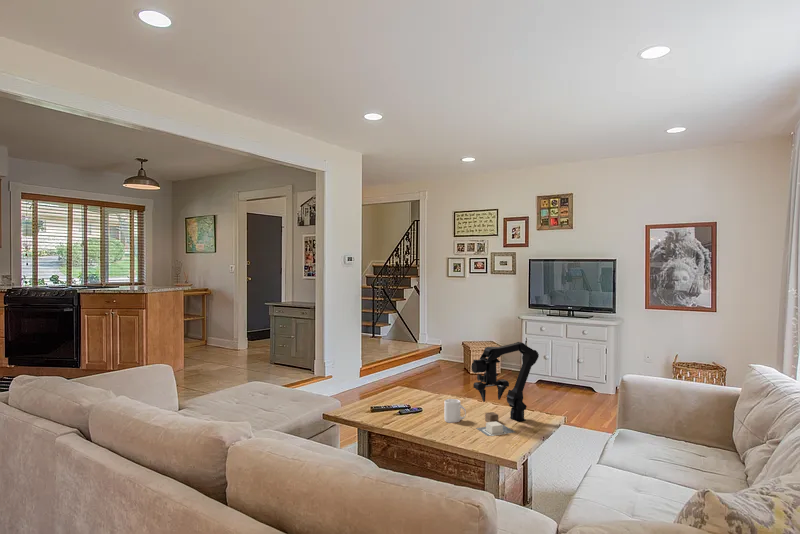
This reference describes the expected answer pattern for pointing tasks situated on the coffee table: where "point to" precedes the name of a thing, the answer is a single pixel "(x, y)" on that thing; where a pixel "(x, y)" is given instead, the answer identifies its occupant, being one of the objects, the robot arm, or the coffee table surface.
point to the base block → (494, 427)
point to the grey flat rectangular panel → (505, 431)
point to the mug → (453, 410)
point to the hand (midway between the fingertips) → (491, 400)
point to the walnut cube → (491, 417)
